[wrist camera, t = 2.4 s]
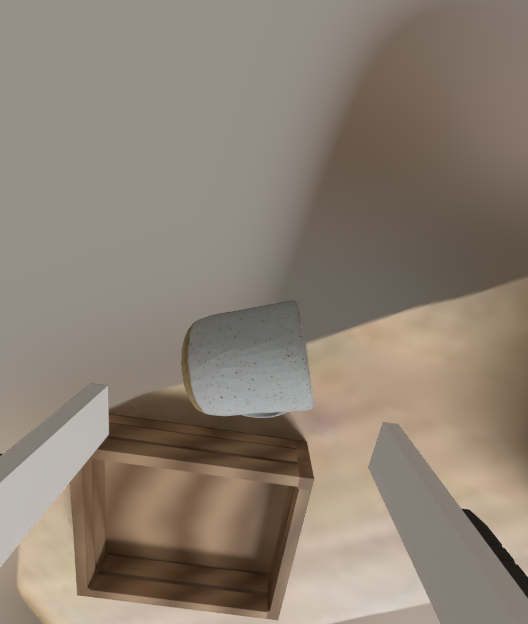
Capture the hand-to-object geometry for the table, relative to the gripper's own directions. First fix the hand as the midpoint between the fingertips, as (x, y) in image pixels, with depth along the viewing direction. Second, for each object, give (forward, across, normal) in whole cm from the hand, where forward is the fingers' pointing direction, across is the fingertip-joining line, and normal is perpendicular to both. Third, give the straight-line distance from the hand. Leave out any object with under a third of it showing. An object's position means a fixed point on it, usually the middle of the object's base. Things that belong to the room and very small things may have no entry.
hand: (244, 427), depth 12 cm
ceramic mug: (+10, -1, +1) cm, 10 cm away
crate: (+10, +4, +18) cm, 21 cm away
